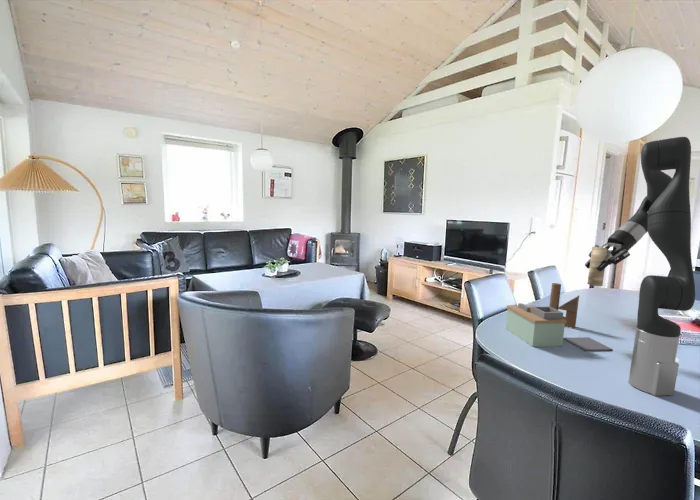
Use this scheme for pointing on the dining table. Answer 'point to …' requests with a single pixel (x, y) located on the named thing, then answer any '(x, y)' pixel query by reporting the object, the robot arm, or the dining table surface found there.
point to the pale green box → (536, 324)
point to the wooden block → (564, 305)
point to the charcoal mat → (587, 344)
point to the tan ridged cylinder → (596, 258)
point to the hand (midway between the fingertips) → (592, 268)
